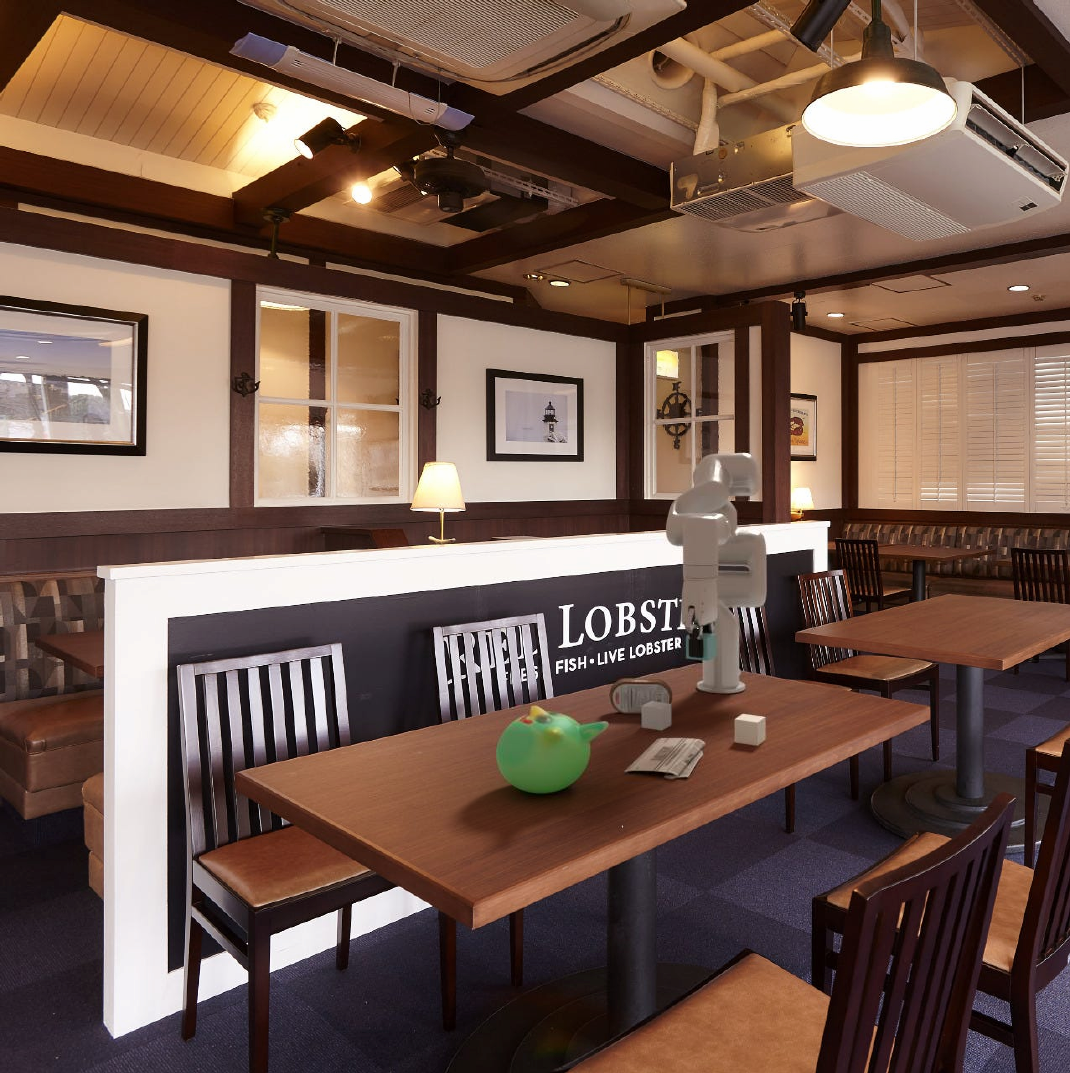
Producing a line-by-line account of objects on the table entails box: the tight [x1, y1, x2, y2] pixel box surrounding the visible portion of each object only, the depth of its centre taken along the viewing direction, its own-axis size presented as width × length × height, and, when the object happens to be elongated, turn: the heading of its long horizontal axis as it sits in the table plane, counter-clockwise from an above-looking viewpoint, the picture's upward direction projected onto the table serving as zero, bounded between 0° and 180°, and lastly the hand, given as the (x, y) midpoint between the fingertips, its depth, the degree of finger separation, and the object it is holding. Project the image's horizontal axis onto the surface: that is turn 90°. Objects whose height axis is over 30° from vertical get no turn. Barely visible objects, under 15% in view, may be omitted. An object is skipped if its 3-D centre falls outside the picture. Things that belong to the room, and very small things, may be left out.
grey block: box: [641, 701, 672, 731], centre depth 193 cm, size 5×5×5 cm
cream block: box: [734, 713, 767, 747], centre depth 181 cm, size 5×5×5 cm
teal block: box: [685, 633, 717, 661], centre depth 187 cm, size 5×5×5 cm
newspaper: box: [623, 737, 706, 780], centre depth 170 cm, size 23×12×2 cm, turn 155°
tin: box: [609, 677, 673, 715], centre depth 204 cm, size 15×3×8 cm, turn 84°
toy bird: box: [495, 705, 610, 794], centre depth 154 cm, size 18×17×15 cm
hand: (701, 654), depth 187 cm, fingers closed on teal block, 4 cm apart
